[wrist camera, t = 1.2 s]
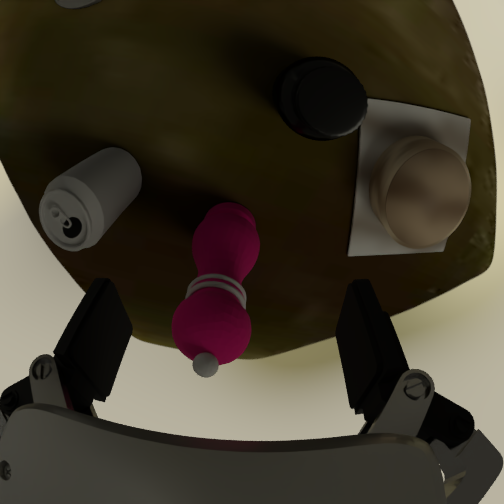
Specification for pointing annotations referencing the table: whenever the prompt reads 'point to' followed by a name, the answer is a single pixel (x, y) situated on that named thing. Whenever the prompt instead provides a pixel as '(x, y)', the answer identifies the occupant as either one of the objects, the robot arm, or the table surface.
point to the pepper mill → (218, 290)
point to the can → (89, 198)
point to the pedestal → (409, 179)
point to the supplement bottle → (320, 98)
